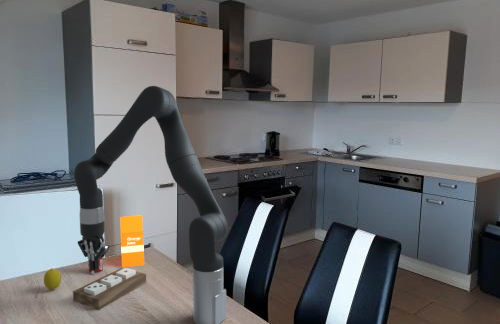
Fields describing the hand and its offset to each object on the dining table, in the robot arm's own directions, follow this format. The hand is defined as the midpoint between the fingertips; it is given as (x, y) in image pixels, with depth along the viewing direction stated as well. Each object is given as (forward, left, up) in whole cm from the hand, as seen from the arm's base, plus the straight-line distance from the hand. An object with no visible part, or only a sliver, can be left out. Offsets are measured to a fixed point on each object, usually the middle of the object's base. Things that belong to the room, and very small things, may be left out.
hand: (94, 269), depth 133 cm
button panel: (0, -7, -11) cm, 13 cm away
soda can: (+18, -16, -11) cm, 26 cm away
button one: (0, -14, -8) cm, 16 cm away
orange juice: (+12, -30, -11) cm, 34 cm away
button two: (0, -7, -8) cm, 11 cm away
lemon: (+19, +2, -11) cm, 22 cm away
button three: (0, 0, -8) cm, 8 cm away
